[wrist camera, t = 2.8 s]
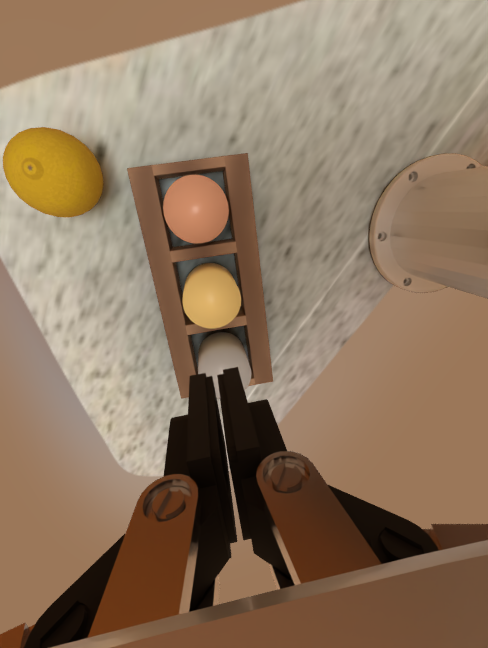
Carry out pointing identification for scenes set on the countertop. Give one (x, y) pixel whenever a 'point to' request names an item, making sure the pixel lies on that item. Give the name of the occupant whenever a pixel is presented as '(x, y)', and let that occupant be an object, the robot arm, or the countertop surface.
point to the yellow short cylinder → (211, 296)
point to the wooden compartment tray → (167, 256)
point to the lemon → (53, 172)
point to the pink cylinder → (195, 209)
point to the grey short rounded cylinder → (223, 358)
